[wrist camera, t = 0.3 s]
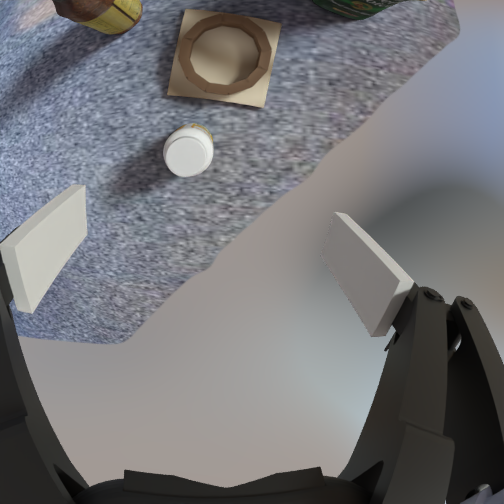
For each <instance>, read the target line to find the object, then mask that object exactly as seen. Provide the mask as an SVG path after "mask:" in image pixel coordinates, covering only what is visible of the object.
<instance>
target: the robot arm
mask: <svg viewBox="0 0 504 504" xmlns="http://www.w3.org/2000/svg"><path fill="white" fill-rule="evenodd" d="M86 235H87V220H86V197H85V185H74V184H73V185H71V186H70V187H69V188H67V189H66V190H64V191H63V192H62V193H60V194H59V195H58V196H56V197H55V198H54V199H52V200H51V201H50V202H49V203H47V204H46V205H45V206H43V207H42V208H41V209H40V210H38V211H37V212H36V213H35V214H34V215H32V216H31V217H30V218H29V219H28V220H26V221H25V222H24V223H23V224H22V225H20V226H18V227H16V228H15V229H14V230H13V231H12V232H11V233H10V234H9V235H7V236H6V237H5V239H3V240H2V241H1V242H0V504H445V500H446V504H504V364H503V362H502V360H501V357H500V355H499V352H498V350H497V348H496V346H495V344H494V341H493V339H492V337H491V335H490V333H489V331H488V328H487V327H486V324H485V323H484V321H483V318H482V316H481V315H480V313H479V311H478V309H477V307H476V306H475V305H474V304H473V302H472V301H471V300H469V299H468V298H464V297H461V296H457V297H456V299H455V300H454V302H453V304H452V305H449V304H445V301H444V299H443V297H442V296H441V295H440V294H439V293H438V292H437V291H435V290H433V289H431V288H428V287H420V288H419V287H418V286H417V284H416V283H415V282H414V281H413V280H412V279H411V278H410V277H409V276H408V275H407V273H405V271H404V270H403V269H402V268H401V267H400V266H399V265H398V264H397V263H396V262H395V261H394V260H393V259H392V258H391V257H390V256H389V255H388V254H387V253H386V252H385V251H384V250H383V249H382V248H381V247H380V246H379V245H378V244H377V243H376V242H375V241H374V240H373V239H372V238H371V237H370V236H369V235H368V234H367V233H366V232H365V231H364V230H363V229H362V228H361V227H359V225H357V224H356V223H355V222H354V221H353V220H352V219H351V218H350V217H349V216H348V215H347V214H343V213H338V212H334V214H333V217H332V220H331V224H330V227H329V230H328V234H327V237H326V240H325V243H324V247H323V250H322V253H321V258H322V259H323V261H324V262H325V264H326V265H327V267H328V268H329V270H330V271H331V273H332V274H333V276H334V278H335V279H336V281H337V282H338V284H339V285H340V287H341V289H342V290H343V292H344V293H345V295H346V296H347V298H348V300H349V301H350V303H351V304H352V306H353V308H354V309H355V311H356V312H357V314H358V316H359V317H360V319H361V321H362V322H363V324H364V326H365V327H366V329H367V330H368V332H369V334H370V336H371V337H379V336H386V334H387V332H388V330H389V329H390V327H391V325H393V327H394V328H395V330H396V332H395V333H394V335H393V337H392V338H391V340H390V342H389V344H388V345H387V346H386V348H385V350H384V351H387V350H388V349H389V351H388V355H387V358H386V362H385V365H384V368H383V372H382V375H381V378H380V382H379V385H378V388H377V391H376V394H375V397H374V400H373V403H372V406H371V408H370V411H369V414H368V417H367V419H366V422H365V425H364V427H363V430H362V432H361V435H360V437H359V439H358V442H357V444H356V447H355V449H354V451H353V454H352V456H351V458H350V460H349V462H348V464H347V466H346V467H345V469H344V470H343V471H342V472H341V474H340V475H339V476H338V477H337V478H336V477H329V476H323V474H322V471H321V467H316V468H309V469H304V470H297V471H290V472H283V473H276V474H273V475H270V476H267V477H264V478H262V479H258V480H255V481H252V482H248V483H245V484H241V485H238V486H234V487H229V488H224V487H218V486H213V485H209V484H205V483H200V482H196V481H192V480H188V479H185V478H181V477H177V476H174V475H163V474H153V473H144V472H137V471H130V470H124V479H115V480H110V481H105V482H102V483H98V484H96V485H93V486H91V487H89V485H88V484H87V483H86V481H85V480H84V479H83V477H82V476H81V475H80V473H79V472H78V471H77V470H76V469H75V467H74V466H73V464H72V463H71V461H70V460H69V458H68V456H67V455H66V453H65V451H64V449H63V448H62V446H61V444H60V442H59V440H58V438H57V436H56V434H55V432H54V431H53V428H52V426H51V424H50V422H49V420H48V418H47V416H46V414H45V412H44V409H43V407H42V405H41V402H40V400H39V397H38V395H37V393H36V390H35V387H34V385H33V382H32V380H31V377H30V374H29V371H28V369H27V366H26V363H25V359H24V356H23V353H22V350H21V346H20V343H19V339H18V336H17V332H16V328H15V324H14V320H13V316H12V311H11V309H10V306H9V303H10V302H11V300H12V299H13V298H14V301H15V304H16V307H17V310H18V311H23V312H27V313H31V314H33V312H34V311H35V309H36V307H37V306H38V304H39V302H40V301H41V299H42V298H43V296H44V294H45V293H46V291H47V290H48V288H49V287H50V285H51V284H52V282H53V281H54V279H55V278H56V276H57V275H58V273H59V272H60V270H61V269H62V268H63V266H64V265H65V263H66V262H67V261H68V259H69V258H70V256H71V255H72V254H73V252H74V251H75V250H76V248H77V247H78V246H79V244H80V243H81V242H82V240H83V239H84V238H85V237H86ZM460 340H461V343H460V346H459V348H458V349H457V350H456V349H455V347H456V346H457V344H458V343H459V341H460Z"/></svg>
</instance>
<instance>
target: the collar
mask: <svg viewBox="0 0 504 504" xmlns="http://www.w3.org/2000/svg"><path fill="white" fill-rule="evenodd" d="M281 26H282V24H281V23H277V22H272V21H268V20H263V19H258V18H253V17H248V16H242V15H236V14H230V13H222V12H214V11H205V10H194V9H185V13H184V17H183V21H182V25H181V29H180V33H179V37H178V42H177V46H176V51H175V56H174V60H173V65H172V70H171V76H170V81H169V87H168V93H167V95H172V96H184V97H194V98H203V99H211V100H219V101H226V102H233V103H239V104H245V105H251V106H256V107H261V108H264V103H265V99H266V94H267V89H268V84H269V80H270V75H271V71H272V66H273V61H274V57H275V52H276V48H277V43H278V39H279V34H280V30H281Z"/></svg>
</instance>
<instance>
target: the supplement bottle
mask: <svg viewBox="0 0 504 504" xmlns="http://www.w3.org/2000/svg"><path fill="white" fill-rule="evenodd" d="M163 156H164V160H165V163H166V165H167V166H168V168H169V169H170V170H171V171H172V172H173V173H174V174H176V175H178V176H181V177H189V176H195V175H198V174H200V173H202V172H203V171H204V170H205V169H206V168H207V167H208V166H209V165H210V163H211V161H212V157H213V139H212V136H211V134H210V132H209V131H208V129H207V128H205V127H204V126H202V125H200V124H196V123H189V124H185V125H183V126H181V127H180V128H178V129H177V130H176V131H175V132H174V133H172V134H171V135H170V136H169V138H168V139H167V141H166V143H165V145H164V149H163Z"/></svg>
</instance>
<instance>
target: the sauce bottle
mask: <svg viewBox="0 0 504 504" xmlns="http://www.w3.org/2000/svg"><path fill="white" fill-rule="evenodd" d="M52 1H53V3H54V5H55V8H56V12H57V14H58V15H59V16H62V17H65V18H68V19H70V20H72V21H74V22H77V23H80V24H82V25H85V26H88V27H90V28H93V29H95V30H98V31H100V32H103V33H105V34H122V33H125V32H126V31H128V30H130V29H131V28H132V27H134V26H135V25H136V24H137V23H138V22H139V20H140V18H141V16H142V8H143V7H142V4H141V3H140V0H52Z"/></svg>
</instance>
